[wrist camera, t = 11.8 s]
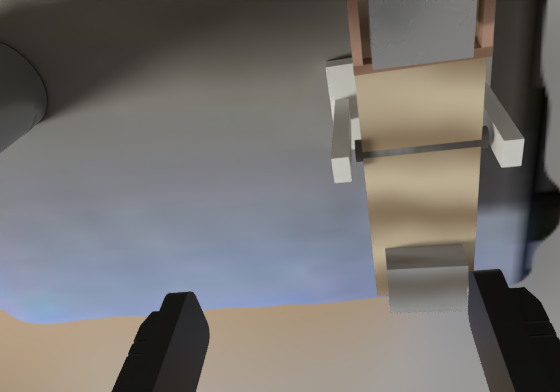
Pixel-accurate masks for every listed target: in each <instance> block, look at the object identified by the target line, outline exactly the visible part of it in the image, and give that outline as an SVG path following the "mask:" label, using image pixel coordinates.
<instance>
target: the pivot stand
mask: <svg viewBox="0 0 560 392" xmlns="http://www.w3.org/2000/svg"><path fill="white" fill-rule="evenodd" d="M492 56H493V53H492ZM491 70H492V57H487V60H486V77H485V93H484V109H483V125H482V126H487V127H488V130H489V138H490V141H489V145H490V147H491V149H492V151H493V152H494V154H495V156H496V158H497V160H498V162H499V164H500V166H501V168H504V167H514V166H521V164H522V155H523V147H524V137H523V136H522V134H521V133H520V131H519V130H518V128H517V127H516V125H515V124H514V122H513V121H512V119H511V118H510V116H509V115H508V113H507V112H506V110H505V109H504V107H503V106H502V104H501V103H500V101H499V100H498V98H497V97H496V95H495V94H494V92H493V91H492V89H491V88H490V85H491ZM326 74H327V81H328V88H329V95H330V102H331V110H332V117H333V138H332V154H331V161H332V168H333V174H334V181H335V183H341V182H352V150H351V149H355V140H361V133H360V123H359V114H358V104H357V94H356V85H355V76H354V71H353V61H352V58H345V59H339V60H332V61H326Z"/></svg>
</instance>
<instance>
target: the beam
mask: <svg viewBox="0 0 560 392" xmlns="http://www.w3.org/2000/svg"><path fill="white" fill-rule="evenodd" d="M346 3H347V13H348V23H349V32H350V42H351V51H352V61H353V71H354V76H355V85H356V94H357V104H358V114H359V123H360V133H361V140H355V153H356V161H357V162H361V161H363V162H364V172H365V181H366V191H367V201H368V210H369V220H370V230H371V239H372V249H373V259H374V268H375V278H376V287H377V296H389V302H390V312H391V313H410V312H441V311H466V305H467V293H469V273H470V271H474V255H475V239H476V223H477V207H478V190H479V174H480V158H481V149H488V147H489V141H490V138H489V130H488V127H487V126H482V125H483V109H484V93H485V77H486V60H487V57H492V53H493V38H494V23H495V9H496V0H477V11H476V27H475V42H474V57H473V58H465V59H457V60H449V61H441V62H433V63H425V64H417V65H409V66H401V67H393V68H386V69H378V70H373V66H372V58H371V50H370V42H369V26H368V11H367V0H346Z"/></svg>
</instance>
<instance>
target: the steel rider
mask: <svg viewBox="0 0 560 392" xmlns="http://www.w3.org/2000/svg"><path fill="white" fill-rule="evenodd" d="M367 11H368V26H369V42H370V50H371V58H372V66H373V70H378V69H386V68H393V67H401V66H409V65H417V64H425V63H433V62H441V61H449V60H457V59H465V58H473V57H474V42H475V27H476V11H477V0H367Z"/></svg>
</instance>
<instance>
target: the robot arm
mask: <svg viewBox="0 0 560 392" xmlns="http://www.w3.org/2000/svg"><path fill="white" fill-rule="evenodd" d="M46 108H47V96H46V92H45V88H44V85H43V83H42V81H41V79H40V77H39V75H38V74H37V72H36V71H35V69H34V68H33V67H32V66H31V64H30V63H29V62H28V61H27V60H26V59H25V58H24V57H23V56H21V55H20V54H19V53H18V52H17V51H15V50H13V49H12V48H10V47H8V46H7V45H5V44H2V43H0V153H1V152H2V151H4V150H5V149H6V148H7V147H9V146H10V145H11V144H12V143H14V142H15V141H16V140H18V139H19V138H20V137H21V136H23V135H24V134H26V133H27V132H28V131H30V130H31V129H32V128H33V127H34V126H35V125H36V124H37V123H38V122H40V121H41V120H42V118H43V116H44V114H45V112H46ZM468 314H469V322H470V327H471V331H472V334H473V338H474V341H475V344H476V347H477V351H478V354H479V357H480V360H481V364H482V367H483V370H484V374H485V377H486V380H487V384H488V387H489V390H490V392H560V340H559V338H557V336H556V332H555V330H554V328H553V326H552V324H551V323H550V322H549V318H548V316H547V314H546V312H545V310H544V308H543V305H542V304H541V302H540V301H539V300H538V299H537V298H536V297H535V296H534V295H533V294H531V293H530V292H529V291H528V290H527V289H526V288H525V287H521V288H509V287H508V285H507V282H506V280H505V278H504V275H503V273H502V271H501V270H500V269H491V270H478V271H470V273H469V295H468ZM209 335H210V334H209V326H208V323H207V320H206V318H205V316H204V314H203V311H202V309H201V307H200V305H199V302H198V300H197V298H196V296H195V294H194V293H193V292H178V293H168V294H167V295H166V296H165V298H164V301H163V303H162V306H161V308H160V311H155V312H152V313H151V314H150V315H149V316H148V317H147V319H146V320H145V321H144V322H143V323H142V324H141V325H140V327H139V330H138V332H137V334H136V337H135V339H134V344H132V346H131V348H130V350H129V353H128V357H127V358H126V360H125V362H124V364H123V367H122V369H121V371H120V373H119V376H118V378H117V380H116V383H115V385H114V387H113V390H112V392H196V389H197V385H198V382H199V378H200V374H201V370H202V367H203V363H204V359H205V355H206V352H207V348H208V344H209V337H210V336H209Z"/></svg>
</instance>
